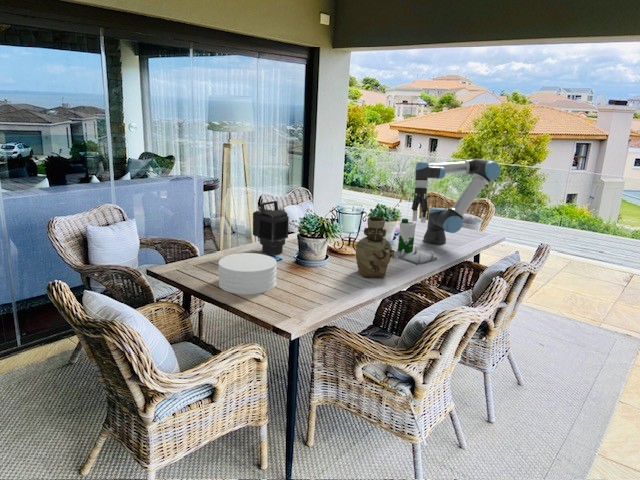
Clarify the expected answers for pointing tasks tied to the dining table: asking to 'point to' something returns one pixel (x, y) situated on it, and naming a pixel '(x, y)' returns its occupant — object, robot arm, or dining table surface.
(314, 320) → the dining table surface
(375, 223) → the ceramic vessel
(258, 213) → the lantern
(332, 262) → the dining table surface
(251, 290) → the plate stack
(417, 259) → the peg dock
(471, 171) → the robot arm
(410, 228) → the soya milk
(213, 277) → the dining table surface
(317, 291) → the dining table surface
